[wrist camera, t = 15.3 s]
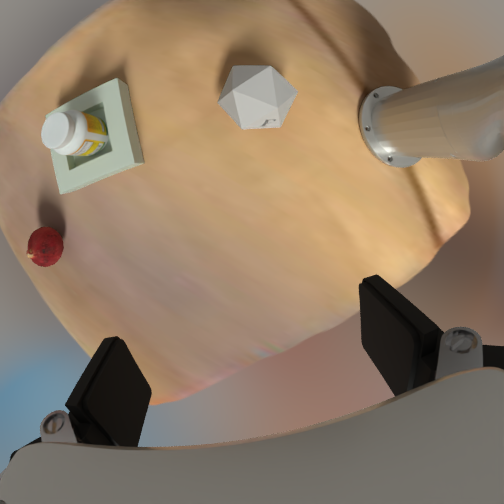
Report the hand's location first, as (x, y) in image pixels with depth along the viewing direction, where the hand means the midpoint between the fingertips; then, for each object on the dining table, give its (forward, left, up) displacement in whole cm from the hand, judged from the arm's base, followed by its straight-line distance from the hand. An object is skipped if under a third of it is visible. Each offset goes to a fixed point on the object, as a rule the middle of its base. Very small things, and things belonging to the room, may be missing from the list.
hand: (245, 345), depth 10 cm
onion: (+28, -4, -28) cm, 40 cm away
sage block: (+16, -16, -28) cm, 36 cm away
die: (-6, -14, -28) cm, 32 cm away
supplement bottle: (+16, -16, -26) cm, 35 cm away
